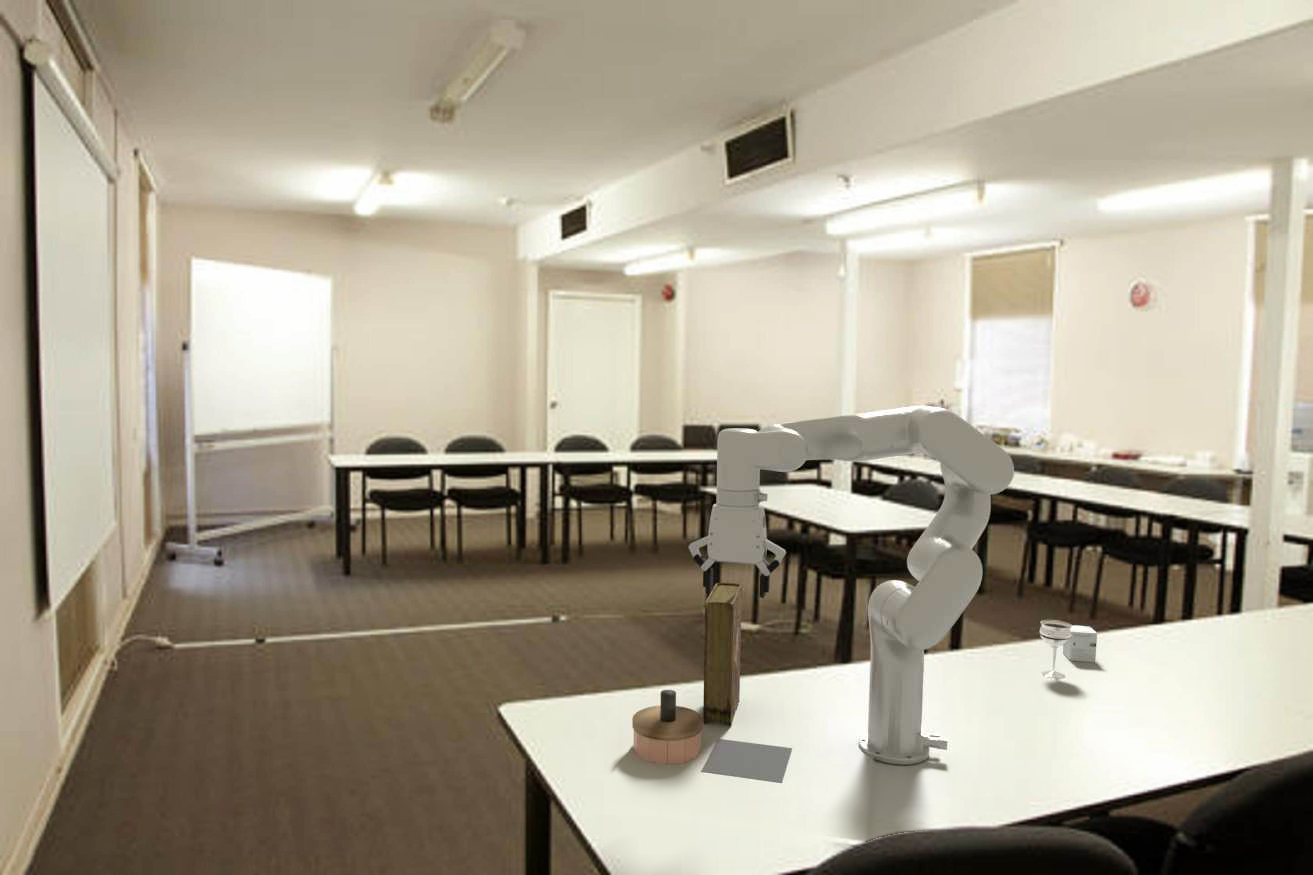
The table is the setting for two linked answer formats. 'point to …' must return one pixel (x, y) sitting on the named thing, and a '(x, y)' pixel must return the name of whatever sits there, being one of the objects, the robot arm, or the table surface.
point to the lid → (668, 720)
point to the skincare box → (1081, 644)
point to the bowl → (667, 749)
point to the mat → (748, 760)
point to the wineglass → (1055, 640)
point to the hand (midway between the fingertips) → (735, 593)
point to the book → (722, 653)
